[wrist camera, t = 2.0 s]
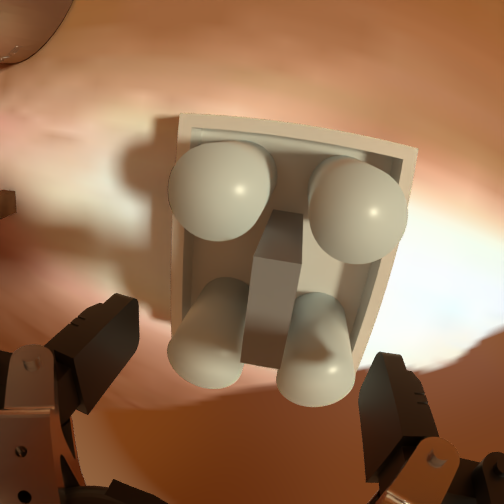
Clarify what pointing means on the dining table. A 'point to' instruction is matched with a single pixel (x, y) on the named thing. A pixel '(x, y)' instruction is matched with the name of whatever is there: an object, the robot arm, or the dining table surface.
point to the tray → (281, 250)
